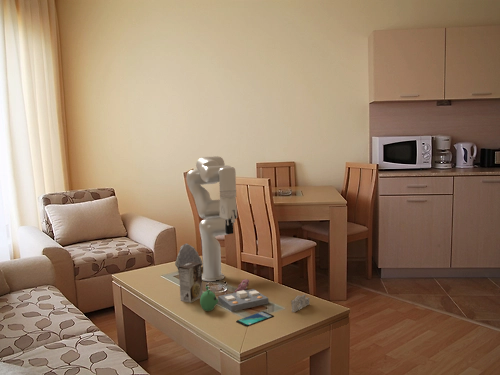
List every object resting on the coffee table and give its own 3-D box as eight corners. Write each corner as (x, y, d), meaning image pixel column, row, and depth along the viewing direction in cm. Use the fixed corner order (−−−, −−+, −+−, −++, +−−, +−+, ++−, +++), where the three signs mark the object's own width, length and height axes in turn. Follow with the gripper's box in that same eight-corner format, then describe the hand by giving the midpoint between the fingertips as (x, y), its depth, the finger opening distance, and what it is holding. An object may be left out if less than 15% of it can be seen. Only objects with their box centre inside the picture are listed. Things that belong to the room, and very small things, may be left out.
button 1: (224, 302, 206) (224, 296, 205) (231, 301, 207) (231, 295, 207) (227, 305, 203) (227, 299, 202) (235, 303, 204) (235, 297, 204)
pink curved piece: (242, 298, 217) (248, 285, 215) (233, 293, 217) (239, 281, 216) (246, 291, 226) (252, 279, 225) (237, 286, 227) (243, 274, 225)
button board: (218, 301, 209) (218, 295, 209) (253, 294, 217) (253, 288, 217) (231, 311, 197) (231, 305, 196) (268, 303, 205) (268, 297, 204)
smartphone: (274, 315, 190) (246, 325, 181) (274, 317, 190) (246, 327, 181) (263, 310, 196) (235, 320, 186) (263, 312, 196) (235, 322, 186)
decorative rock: (177, 273, 253) (176, 246, 251) (173, 270, 259) (172, 244, 257) (205, 268, 260) (204, 242, 259) (200, 265, 266) (199, 240, 264)
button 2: (248, 297, 211) (248, 291, 211) (255, 296, 213) (255, 290, 213) (252, 299, 208) (252, 294, 208) (259, 298, 210) (259, 292, 209)
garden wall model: (306, 303, 203) (306, 290, 203) (310, 304, 202) (310, 291, 201) (290, 312, 194) (290, 298, 194) (294, 313, 193) (294, 299, 192)
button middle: (236, 297, 208) (236, 291, 208) (243, 295, 210) (243, 290, 210) (240, 299, 205) (239, 293, 205) (247, 298, 207) (247, 292, 206)
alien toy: (219, 312, 196) (218, 289, 195) (201, 314, 195) (200, 291, 194) (217, 306, 203) (216, 284, 202) (199, 308, 202) (198, 286, 200)
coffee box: (192, 294, 219) (190, 261, 217) (203, 296, 216) (201, 262, 214) (179, 300, 212) (178, 266, 210) (191, 303, 208) (189, 268, 206)
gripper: (214, 193, 217) (215, 231, 219) (227, 196, 204) (228, 237, 206) (228, 191, 220) (230, 229, 222) (242, 195, 207) (244, 235, 209)
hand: (229, 233), depth 214 cm, fingers closed
